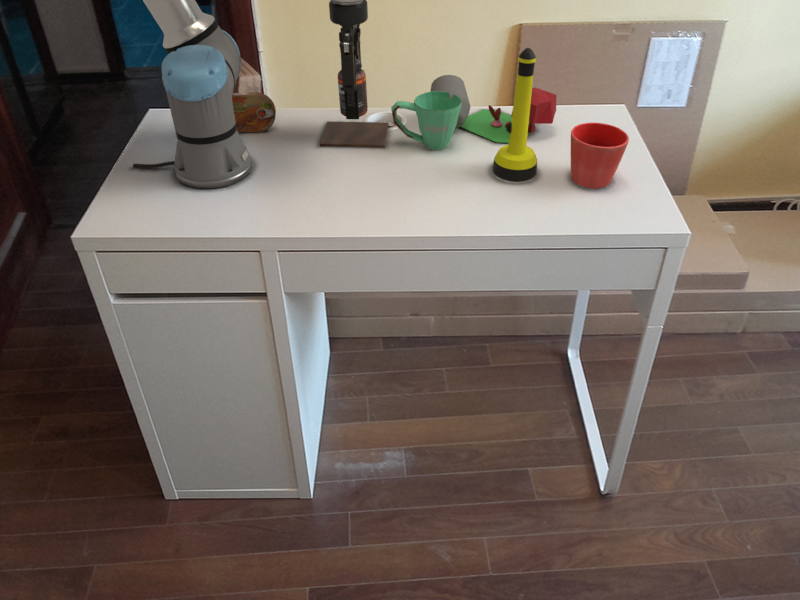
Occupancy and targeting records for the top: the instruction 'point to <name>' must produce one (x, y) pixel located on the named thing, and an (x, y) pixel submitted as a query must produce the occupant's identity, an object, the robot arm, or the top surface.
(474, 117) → the red green faceted piece
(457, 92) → the cup
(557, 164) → the top surface
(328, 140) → the placemat
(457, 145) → the top surface
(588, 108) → the top surface
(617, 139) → the flower pot
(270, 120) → the tin
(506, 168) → the flashlight
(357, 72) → the supplement bottle
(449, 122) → the mug
